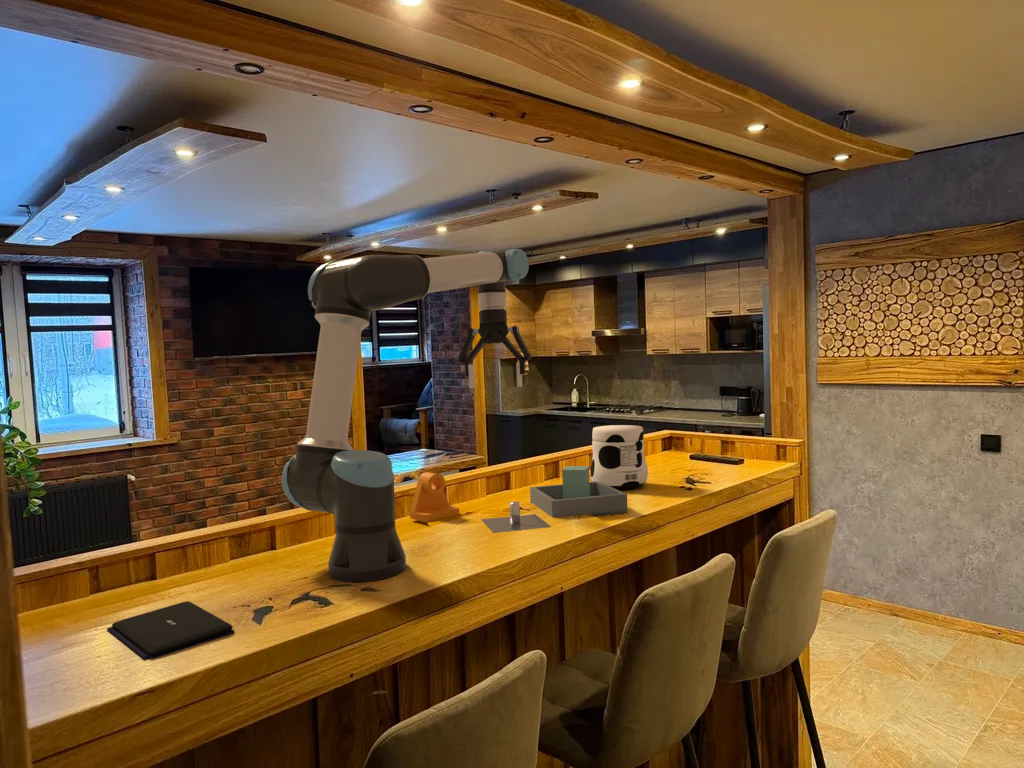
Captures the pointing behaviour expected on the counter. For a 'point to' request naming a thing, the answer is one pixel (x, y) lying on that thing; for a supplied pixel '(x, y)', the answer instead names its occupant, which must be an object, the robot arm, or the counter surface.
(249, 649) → the counter surface
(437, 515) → the bracket
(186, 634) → the laptop
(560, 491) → the bin
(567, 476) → the green rectangular block
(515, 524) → the base
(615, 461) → the milk container
